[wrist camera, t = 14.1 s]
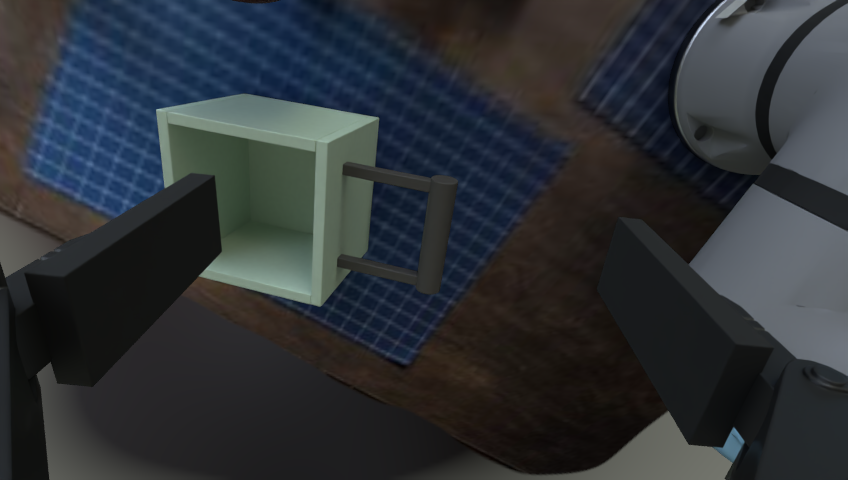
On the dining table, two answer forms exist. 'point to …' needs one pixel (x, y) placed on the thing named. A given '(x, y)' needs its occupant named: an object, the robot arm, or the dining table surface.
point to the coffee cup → (256, 1)
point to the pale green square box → (296, 194)
